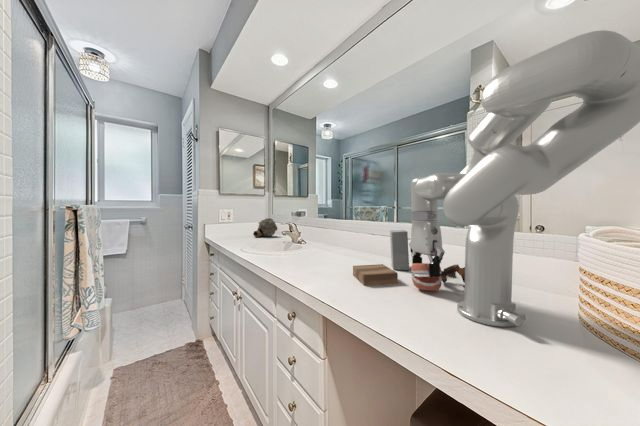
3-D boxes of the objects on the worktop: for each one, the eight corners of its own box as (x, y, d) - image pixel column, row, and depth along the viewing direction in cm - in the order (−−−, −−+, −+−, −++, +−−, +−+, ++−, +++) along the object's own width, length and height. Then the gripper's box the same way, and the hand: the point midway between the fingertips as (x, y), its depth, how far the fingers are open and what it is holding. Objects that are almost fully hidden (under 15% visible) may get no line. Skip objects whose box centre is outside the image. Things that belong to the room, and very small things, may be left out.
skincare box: (409, 271, 99) (409, 231, 99) (391, 270, 101) (391, 231, 100) (406, 265, 108) (406, 229, 107) (389, 265, 109) (389, 229, 108)
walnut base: (397, 284, 85) (397, 272, 85) (363, 286, 83) (363, 275, 83) (382, 274, 97) (382, 264, 96) (353, 276, 95) (352, 265, 94)
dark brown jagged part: (463, 296, 74) (447, 270, 76) (441, 299, 82) (428, 276, 85) (488, 281, 79) (473, 256, 81) (465, 285, 87) (452, 263, 89)
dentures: (413, 290, 75) (412, 264, 75) (411, 283, 82) (410, 259, 82) (445, 292, 72) (444, 264, 72) (440, 285, 79) (440, 260, 79)
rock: (274, 215, 206) (259, 212, 194) (280, 228, 198) (265, 227, 187) (262, 229, 213) (247, 227, 202) (268, 242, 206) (252, 241, 194)
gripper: (454, 217, 69) (455, 279, 70) (419, 216, 87) (420, 266, 87) (430, 218, 68) (431, 281, 68) (399, 216, 85) (400, 267, 86)
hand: (425, 272), depth 78 cm, fingers closed on dentures, 8 cm apart
